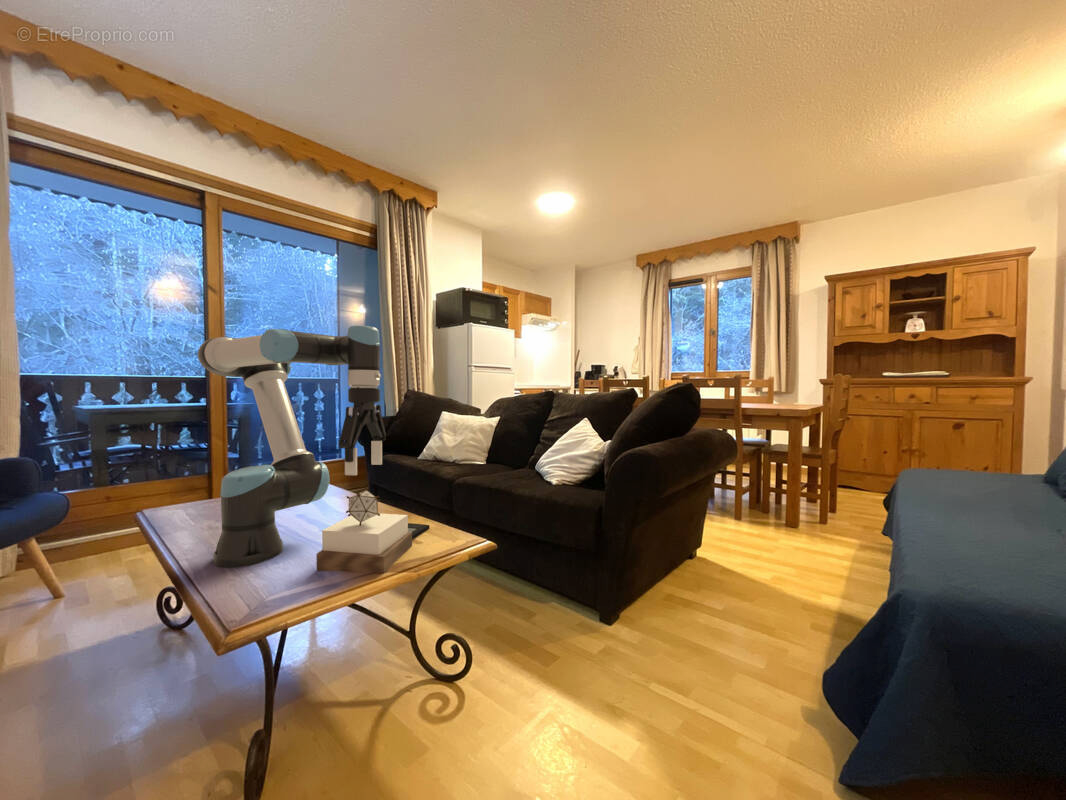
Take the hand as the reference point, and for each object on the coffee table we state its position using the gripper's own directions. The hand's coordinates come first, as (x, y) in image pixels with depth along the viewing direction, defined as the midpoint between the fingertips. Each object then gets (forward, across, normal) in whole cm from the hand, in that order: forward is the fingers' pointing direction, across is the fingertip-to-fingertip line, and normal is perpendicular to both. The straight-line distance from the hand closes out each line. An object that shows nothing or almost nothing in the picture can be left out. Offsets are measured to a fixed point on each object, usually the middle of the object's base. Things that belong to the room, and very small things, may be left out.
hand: (364, 469), depth 107 cm
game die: (+13, +2, 0) cm, 13 cm away
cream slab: (+19, 0, 0) cm, 19 cm away
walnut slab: (+24, 0, -1) cm, 24 cm away
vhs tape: (+24, +16, -4) cm, 29 cm away
